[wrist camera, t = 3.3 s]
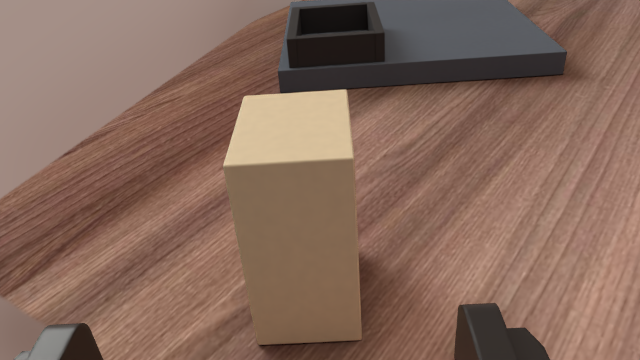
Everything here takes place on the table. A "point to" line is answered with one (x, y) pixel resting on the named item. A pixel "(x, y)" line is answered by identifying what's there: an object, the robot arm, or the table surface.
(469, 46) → the dark gray square slab
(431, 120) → the table surface
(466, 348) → the robot arm
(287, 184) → the tan rectangular block
